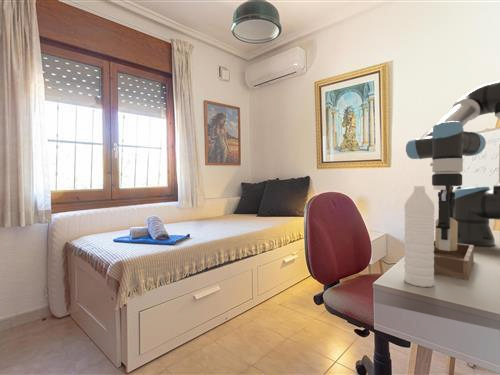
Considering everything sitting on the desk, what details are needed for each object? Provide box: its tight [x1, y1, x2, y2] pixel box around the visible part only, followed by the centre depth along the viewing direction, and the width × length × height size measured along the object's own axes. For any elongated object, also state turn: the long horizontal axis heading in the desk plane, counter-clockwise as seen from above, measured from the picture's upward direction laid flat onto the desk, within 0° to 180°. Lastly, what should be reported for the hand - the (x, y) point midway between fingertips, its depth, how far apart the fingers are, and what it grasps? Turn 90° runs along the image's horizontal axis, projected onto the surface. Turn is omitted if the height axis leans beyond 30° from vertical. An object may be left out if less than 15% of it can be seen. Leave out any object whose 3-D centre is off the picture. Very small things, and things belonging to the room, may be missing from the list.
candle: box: [434, 218, 458, 251], centre depth 83 cm, size 6×6×10 cm
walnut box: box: [433, 240, 475, 281], centre depth 83 cm, size 23×12×5 cm, turn 137°
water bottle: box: [403, 185, 446, 288], centre depth 68 cm, size 9×6×25 cm
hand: (446, 248), depth 83 cm, fingers closed on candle, 5 cm apart
